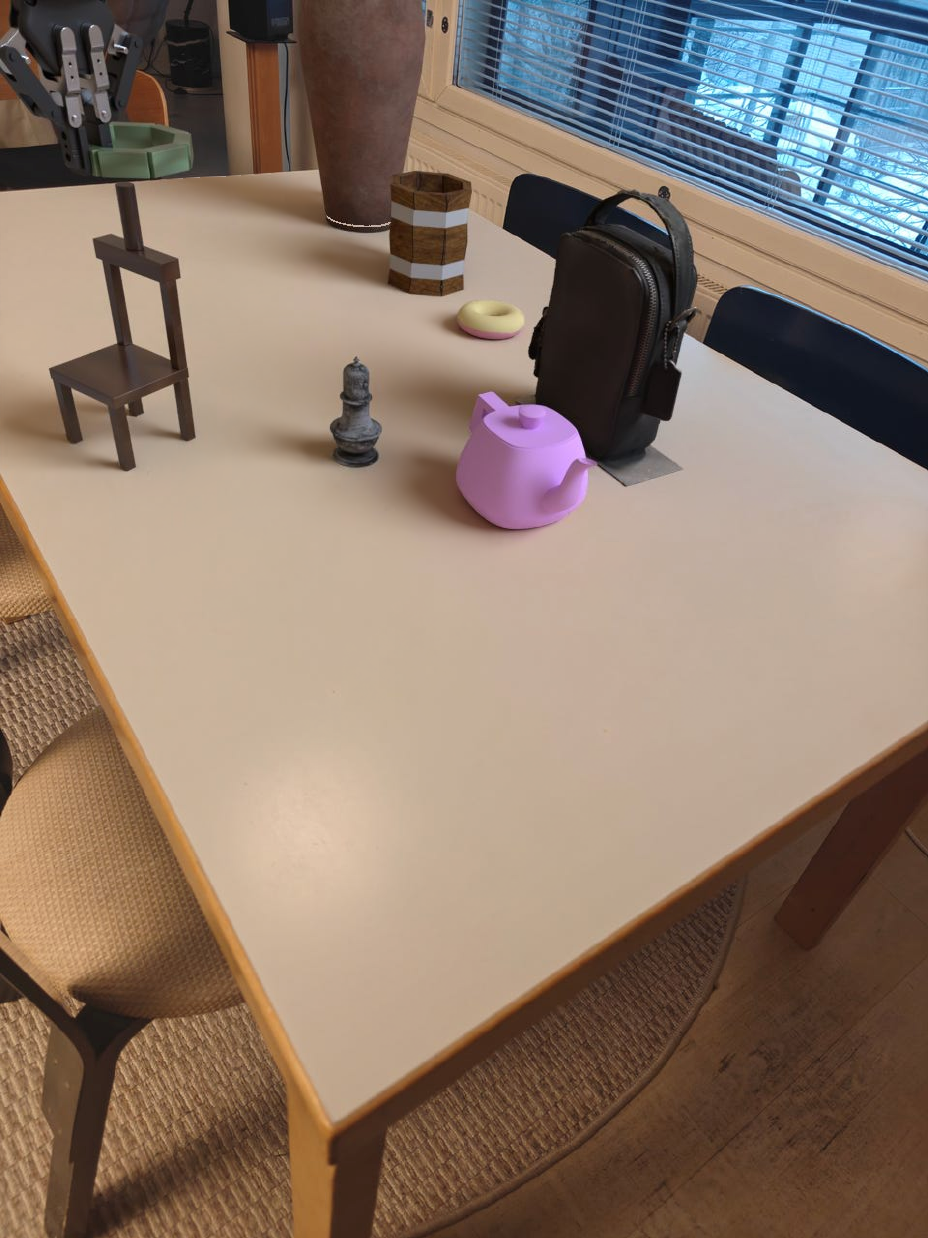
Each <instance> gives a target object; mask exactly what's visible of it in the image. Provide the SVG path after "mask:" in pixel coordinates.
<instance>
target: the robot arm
mask: <svg viewBox="0 0 928 1238" xmlns="http://www.w3.org/2000/svg"><path fill="white" fill-rule="evenodd" d="M8 25H9V27H10V28H9V29H8V30H7V31H6V33H5V34H3V36H2V37H1V38H0V74H1V76H2V77H3V78H4V79H5V81H6V82H7V84H8V85H9V86H10V87H11V89H12V90H13V92H14V93H15V94H16V96H17V97H18V98H19V99H20V100H21V103H23V105H24V106H25V107H26V108H27V110H28V111H29V112H30V113H31V115H32V116H34V117H38V118H43V119H46V120H48V121H51V122H52V123H53V124H54V125H55V126H56V128H57V129H56V130H57V135H58V137H59V138H58V139H59V143H60V144H59V145H60V148H61V153H62V158H63V161H64V164H65V163H66V164H65V166H66V167H67V166H69V167H68V168H69V169H70V170H71V172H72V173H73V174H76V175H79V176H82V177H89V176H93V175H92V173H93V170H92V164H91V159H90V154H89V145H88V143H90V144H93V145H97V146H100V147H103V148H113V144H112V138H111V132H110V126H109V123H110V122H111V119H112V116H113V115H115V114H116V113H117V112H118V111H119V112H124V111H126V109H127V107H128V103H129V100H130V96H131V92H132V89H133V85H134V82H135V77H136V74H137V70H138V68H139V67H138V66H139V63H140V59H141V55H142V52H143V49H144V41H143V39H142V37H141V36H140V35H138V34H135V33H130V32H127V31H126V30H124V29H123V28H122V27H121V26H119V25H118V24H116V22H115V17H114V14H113V12H112V10H111V8H110V6H109V4H108V2H107V0H9V12H8ZM27 52H28V53H29V54H28V53H27ZM29 55H30V56H31V57H32V59H33V60H34V61H35V62H36V67H37V72H38V76H37V74H36V73H35V72H34V71H33V70H32V68H31V67H30V65H31V64H32V60H31V58H30V56H29ZM38 77H39V78H38ZM82 116H83V117H84V118H83V117H82Z"/></svg>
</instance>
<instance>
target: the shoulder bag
mask: <svg viewBox="0 0 928 1238" xmlns="http://www.w3.org/2000/svg"><path fill="white" fill-rule="evenodd" d="M630 199H634V200H637V201H641V202H643V203H645V204H646V205H648V207H649V208H650V209H651V210H653V211H654V212H655V213H656V215H657V216H658V218H659V219H660V221H661V222H662V223H663V225H664V227H665V230H666V232H667V235H668V239H669V245H670V248H671V249H669V248H667V247H665V246H663V245H661V244H659V243H658V242H656V241H654V240H652V239H650V238H648V237H646V236H644V235H642V234H640V233H639V232H637V231H635V230H632V228H631V229H630V228H629V227H626V226H625V225H622V224H617V223H605V220H606V219H607V218H608V216H609V215H610V214H611V212H612V211H613V210H614V209H615V208H617V207H618V206H619V205H620V204H622V203H623V202H625V201H627V200H630ZM669 199H670V198H667V197H661V196H659V195H656V194H653V193H647V192H640V191H639V190H638V189H636V188H633V189H632V190H628V189H627V190H626V189H620V190H619V191H617V192H616V194H614V195H611V196H608V197H606V198H604V199H602V200H601V201H600V202H598V203H596V204H595V205H594V206H593V208H592V209H591V210H590V212H589V214H588V216H587V217H586V218H585V221H584V223H583V226H582V227H581V228H579V229H577V230H576V231H573V232H569V231H565V232H564V233H562V234H561V235H560V237H559V238H558V240H557V244H556V250H555V265H554V269H553V281H552V286H551V290H550V295H549V300H548V305H545V306H544V307H543V309H542V311H541V315H542V316H541V317H540V319H539V320H538V322H537V324H536V325H535V326H534V327H533V332H532V335H531V338H530V342H529V345H528V349H527V355H528V358H529V359H530V360H531V361H534V366H533V368H534V369H533V372H532V375H533V376H534V377H535V378H537V382H536V386H535V392H534V394H532V395H527V396H524V397H519V398H516V399H514V401H516V402H517V403H519V405H541V406H545V407H548V408H550V409H552V410H554V411H555V412H557V413H559V414H560V415H561V416H563V417H564V418H565V419H567V420H568V421H569V422H570V423H571V424H572V425H573V426H574V427H575V428H576V429H577V431H578V433H579V436H580V438H581V441H582V445H583V448H584V452H585V456H586V457H588V458H589V459H591V460H593V461H595V462H596V463H597V465H598V466H600V467H601V468H603V469H604V470H605V471H606V472H608V474H610V475H612V477H614V478H616V479H617V480H618V481H619V482H620V483H622V484H624V485H625V486H627V487H629V486H632V485H633V486H634V485H635V484H638V483H642V482H645V481H649V480H651V479H655V478H659V477H662V476H666V475H668V474H671V473H675V472H678V471H681V470H684V468H683V467H682V466H680V465H679V464H678V463H677V462H675V461H674V460H672V459H671V458H669V457H668V456H667V455H665V454H664V453H662V452H661V451H660V450H658V449H657V448H655V446H653V445H651V444H652V443H653V442H655V440H656V438H657V435H658V432H659V427H660V424H661V422H662V421H663V422H669V421H670V420H671V419H672V417H673V415H674V410H675V405H676V401H677V396H678V391H679V387H680V384H681V383H680V382H681V380H682V379H681V378H682V375H683V372H682V369H680V368H678V367H677V363H678V360H679V357H680V352H681V347H682V343H683V339H684V337H685V332H686V331H687V329H688V325H689V324H690V323H691V321H692V320H693V319H694V318H695V317H696V315H697V314H696V313H697V312H698V309H697V306H693V303H694V299H695V295H696V291H697V287H698V281H699V274H698V270H697V266H696V265H695V260H694V258H695V256H694V255H695V250H694V243H693V237H692V234H691V231H690V228H689V226H688V223H687V221H686V219H685V217H683V215H682V213H681V212H680V211H679V209H677V207H676V206H675V205H674V204H673V203H672V202H671V201H670V200H669Z"/></svg>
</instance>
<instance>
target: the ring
mask: <svg viewBox="0 0 928 1238" xmlns="http://www.w3.org/2000/svg"><path fill="white" fill-rule="evenodd" d="M109 126H110V132H111V138H112V144H113V148H103V147H100V146H97V145H93V144H90V143H88V145H89V154H90V159H91V164H92V170H93V173H92V175H91V176H94V177H102V178H115V179H146V180H147V179H150V178H154V179H157V178H161V177H166V176H171V175H175V174H179V173H180V174H181V173H185V172H188V171H190V170H192V169H193V164H194V158H195V157H194V156H195V155H194V147H193V139H192V133H189V131H186V130H182V129H178V128H176V127H172V126H168V125H164V124H161V123H158V124H156V123H154V122H134V121H131V122H130V121H110V122H109ZM64 164H65V165H66V163H65V162H64ZM66 167H67V168H70V167H69V166H67V165H66Z"/></svg>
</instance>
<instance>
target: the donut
mask: <svg viewBox="0 0 928 1238" xmlns="http://www.w3.org/2000/svg"><path fill="white" fill-rule="evenodd" d="M456 317H457V318H456V319H457V324H458V325H459V327H460V328H461V330H463V331H464V332H465V333H467V334H469V335H472V336H473V337H477V338H482V339H487V340H504V339H505V340H506V339H510V338H513V337H515V336H517V335H519V333H520V332H522V331H523V329H524V327H525V316H524V313H522V311H521V310H520V309H519V308H518V307H516V306H515V305H513V304H511V303H508V302H506V301H501V300H495V299H478V300H472V301H469V302H467V303H464V304H463V305H462V306H461V307H460V308H459V310H458V312H457V315H456Z"/></svg>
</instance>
